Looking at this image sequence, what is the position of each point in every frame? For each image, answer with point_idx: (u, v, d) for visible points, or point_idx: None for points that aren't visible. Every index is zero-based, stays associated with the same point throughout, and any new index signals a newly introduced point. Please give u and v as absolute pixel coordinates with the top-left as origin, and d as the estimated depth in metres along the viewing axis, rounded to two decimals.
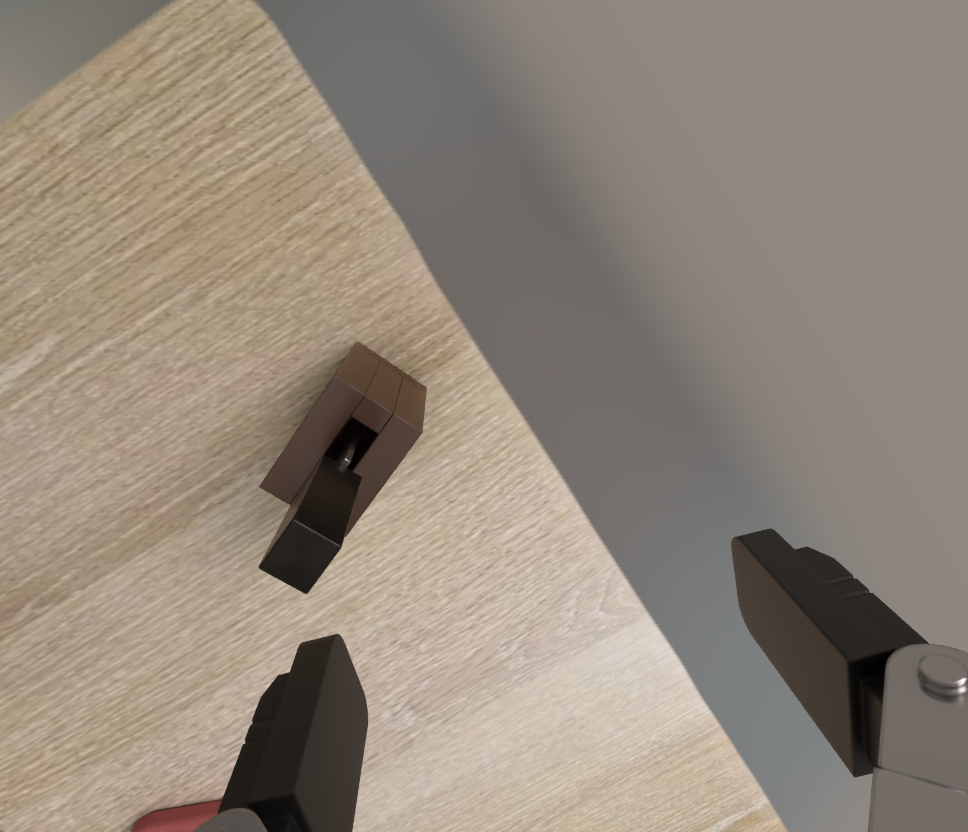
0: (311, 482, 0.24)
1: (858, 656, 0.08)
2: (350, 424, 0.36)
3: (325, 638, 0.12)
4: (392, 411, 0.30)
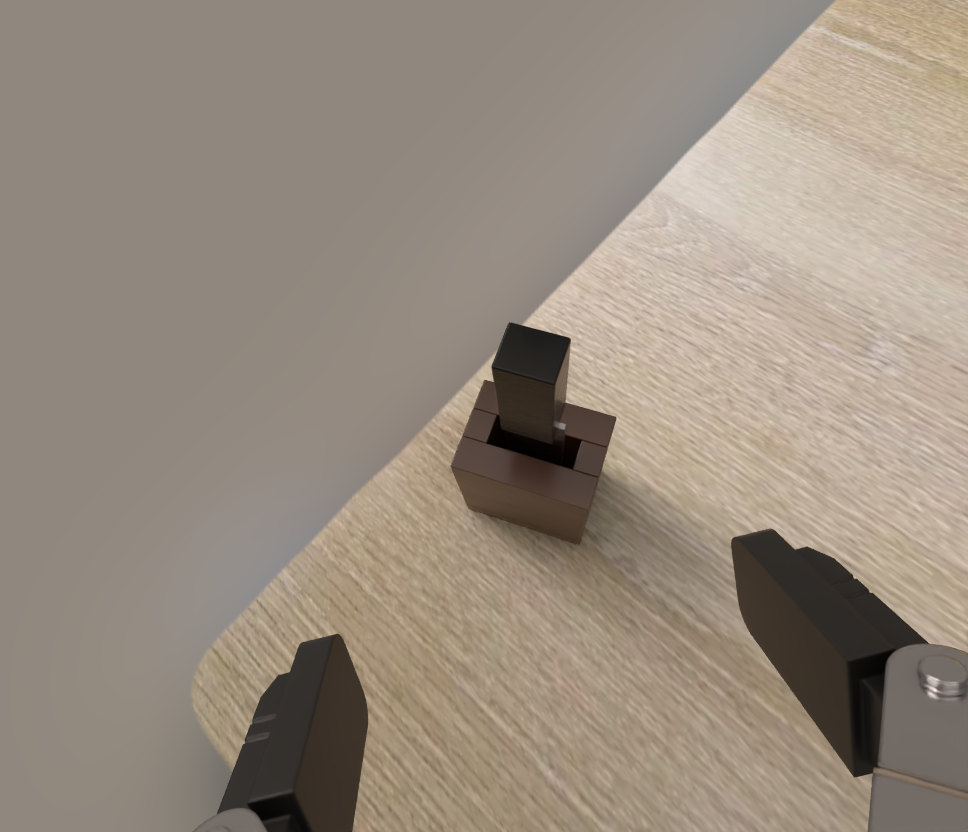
0: (497, 401, 0.25)
1: (858, 656, 0.08)
2: None
3: (325, 638, 0.12)
4: None
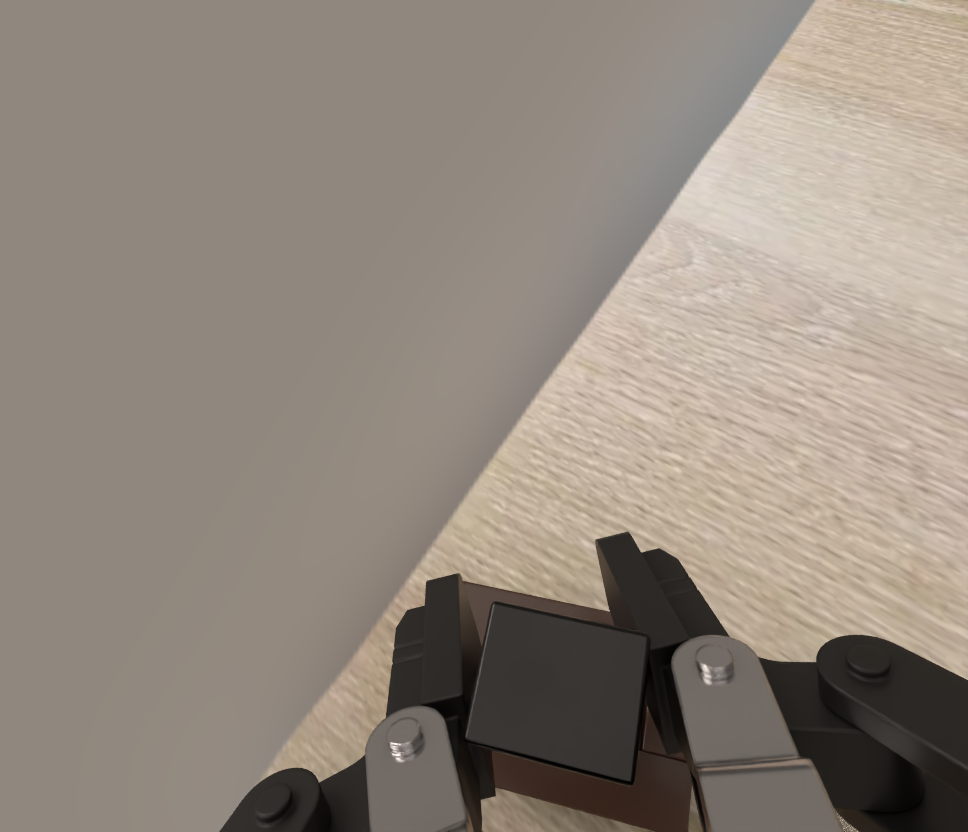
0: None
1: (656, 646, 0.09)
2: None
3: (450, 576, 0.13)
4: None
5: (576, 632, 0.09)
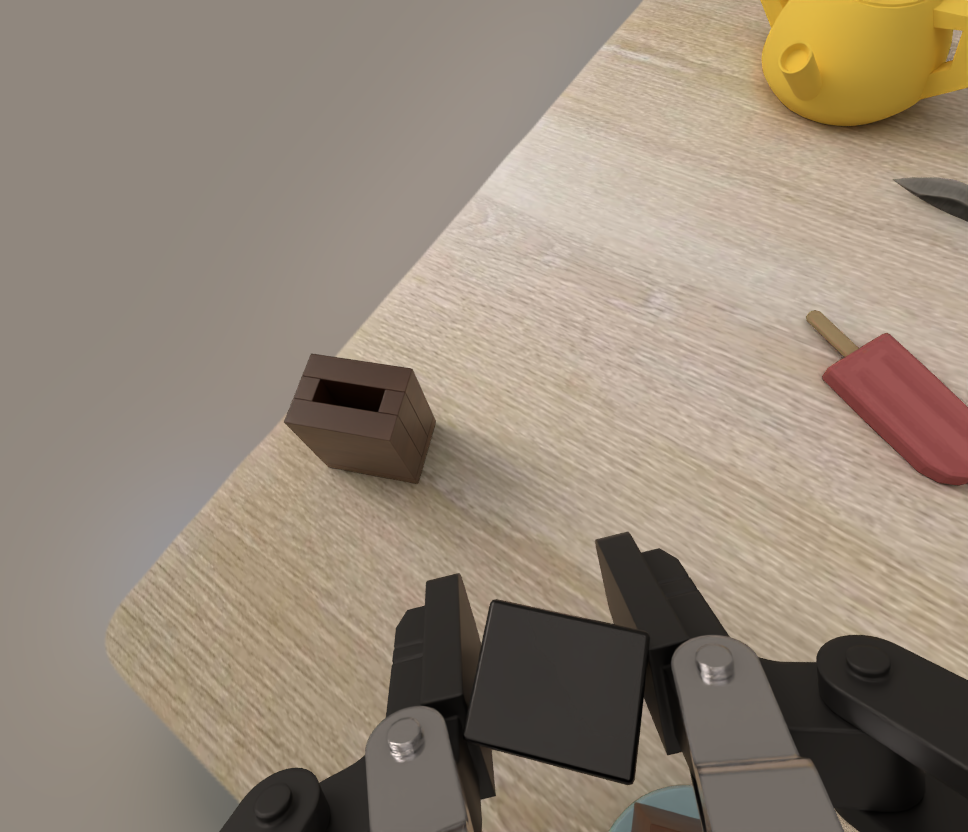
0: None
1: (657, 646, 0.09)
2: None
3: (450, 576, 0.13)
4: None
5: (575, 630, 0.09)
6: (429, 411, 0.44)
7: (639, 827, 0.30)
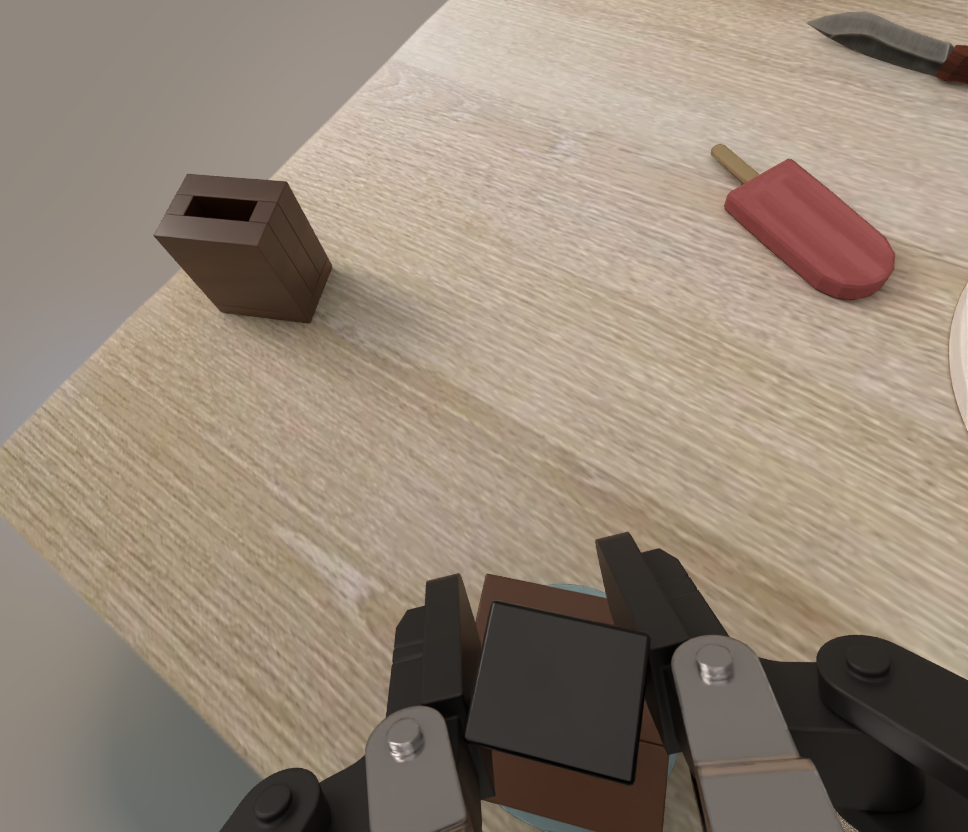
0: None
1: (656, 646, 0.09)
2: None
3: (450, 576, 0.13)
4: None
5: (576, 631, 0.09)
6: (320, 247, 0.42)
7: None
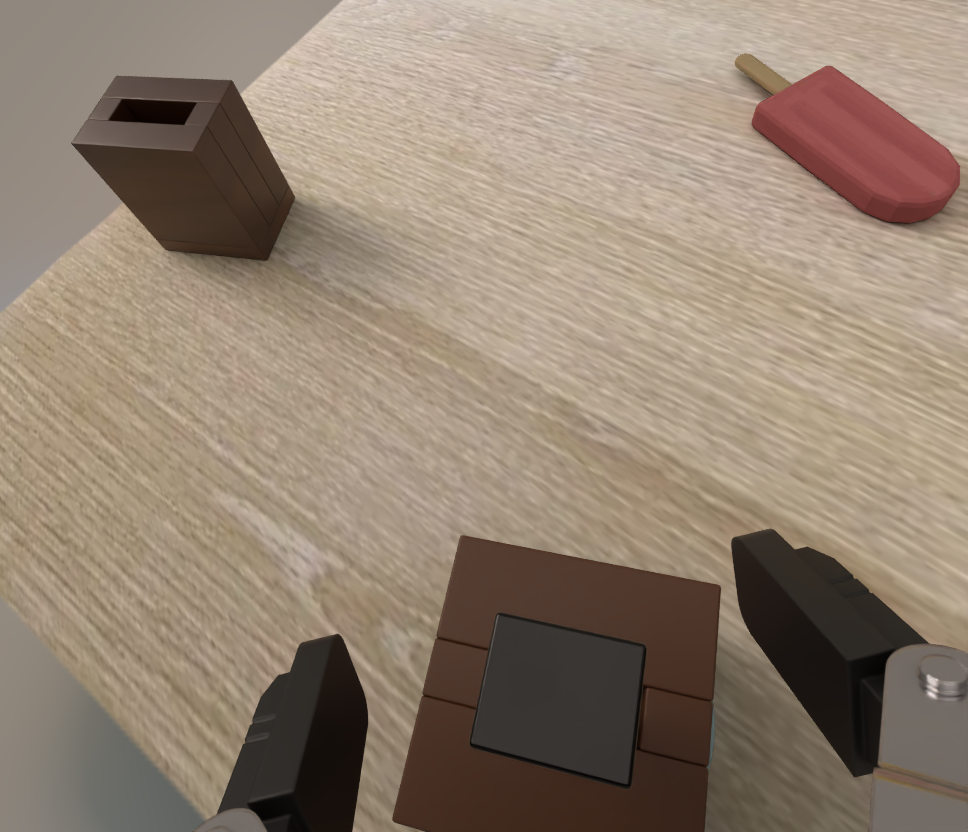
0: None
1: (858, 656, 0.08)
2: None
3: (325, 638, 0.12)
4: None
5: (576, 642, 0.10)
6: (278, 172, 0.36)
7: None
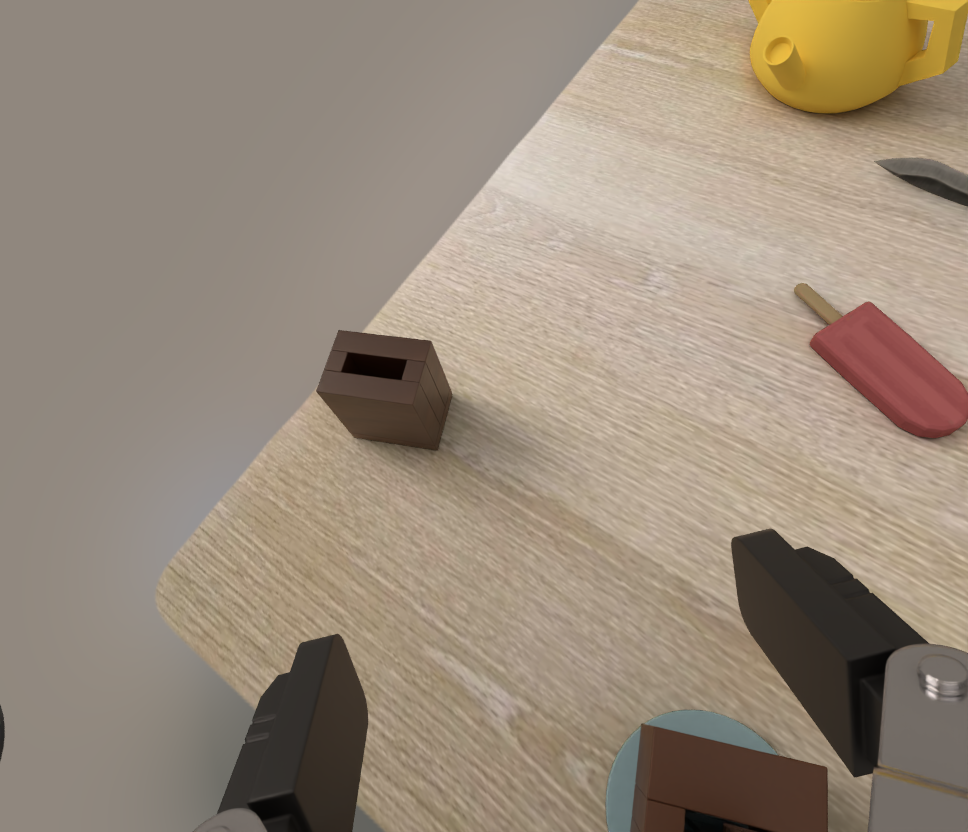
0: None
1: (858, 656, 0.08)
2: None
3: (325, 638, 0.12)
4: None
5: None
6: (446, 383, 0.48)
7: (645, 738, 0.34)
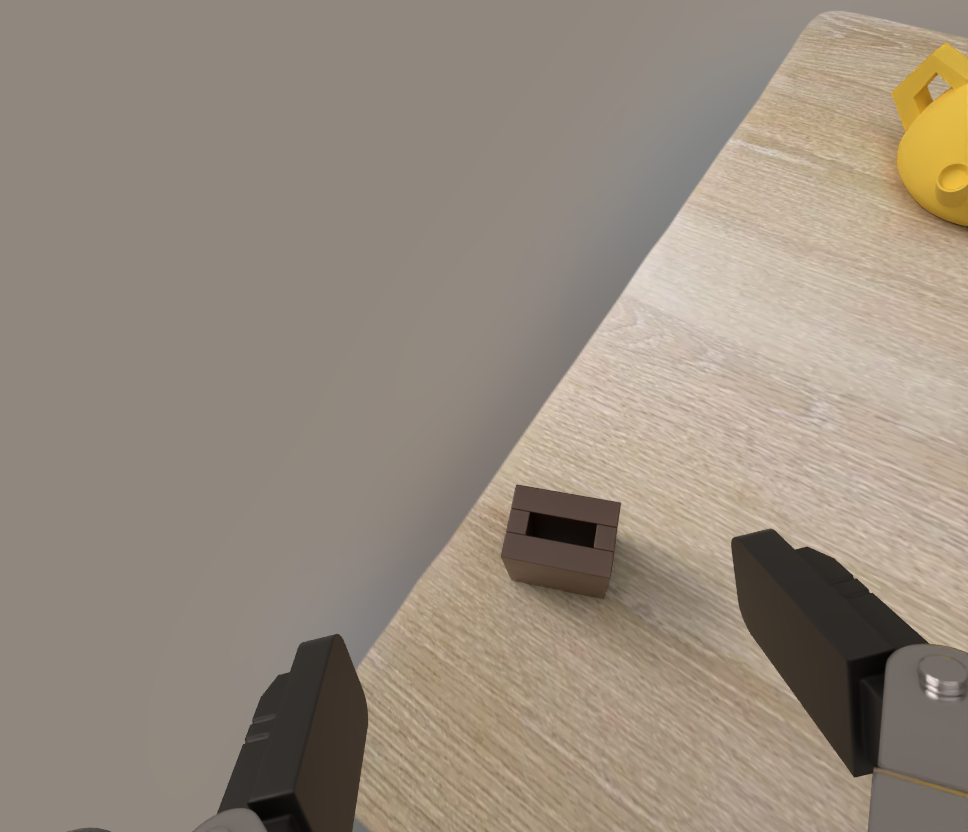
0: None
1: (858, 656, 0.08)
2: None
3: (325, 638, 0.12)
4: (511, 510, 0.41)
5: None
6: None
7: None
